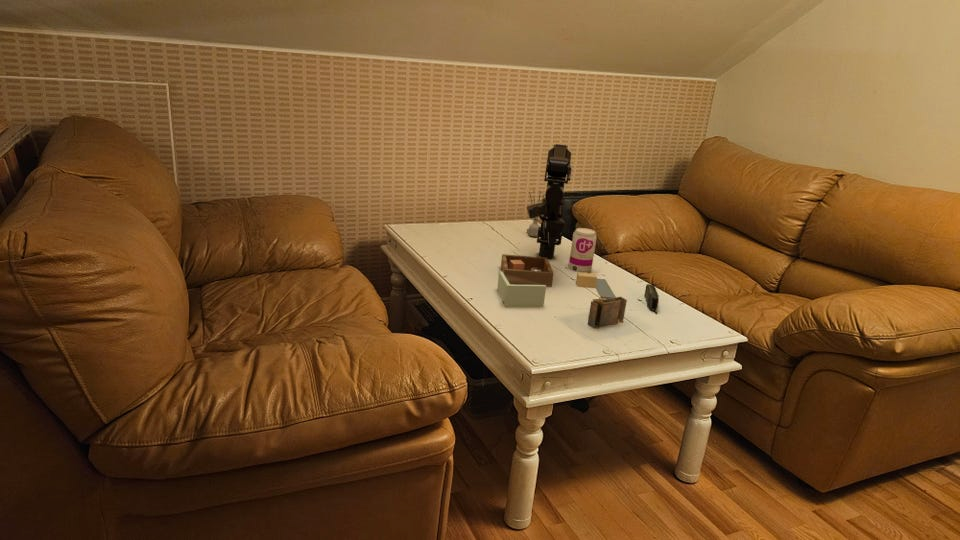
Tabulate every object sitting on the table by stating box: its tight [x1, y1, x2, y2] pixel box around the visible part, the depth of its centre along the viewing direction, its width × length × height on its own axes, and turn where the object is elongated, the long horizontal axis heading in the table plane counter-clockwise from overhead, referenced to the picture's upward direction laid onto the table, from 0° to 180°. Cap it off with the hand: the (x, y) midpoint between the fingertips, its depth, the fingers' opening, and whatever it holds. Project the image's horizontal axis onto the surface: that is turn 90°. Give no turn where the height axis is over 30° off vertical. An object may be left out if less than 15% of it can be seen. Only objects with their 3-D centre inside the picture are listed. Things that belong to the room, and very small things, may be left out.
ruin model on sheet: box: [587, 296, 628, 329], centre depth 174 cm, size 11×3×10 cm, turn 120°
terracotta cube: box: [509, 260, 525, 270], centre depth 206 cm, size 4×4×4 cm
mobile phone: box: [643, 283, 660, 314], centre depth 192 cm, size 5×3×15 cm
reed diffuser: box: [526, 188, 545, 237], centre depth 250 cm, size 10×7×20 cm
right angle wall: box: [496, 270, 547, 308], centre depth 186 cm, size 12×12×8 cm
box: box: [500, 253, 554, 288], centre depth 203 cm, size 16×16×6 cm
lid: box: [575, 272, 616, 299], centre depth 201 cm, size 17×17×5 cm
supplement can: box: [568, 227, 597, 274], centre depth 215 cm, size 8×8×15 cm
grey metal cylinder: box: [531, 267, 542, 272], centre depth 201 cm, size 4×4×4 cm
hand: (548, 242), depth 204 cm, fingers open, 9 cm apart
